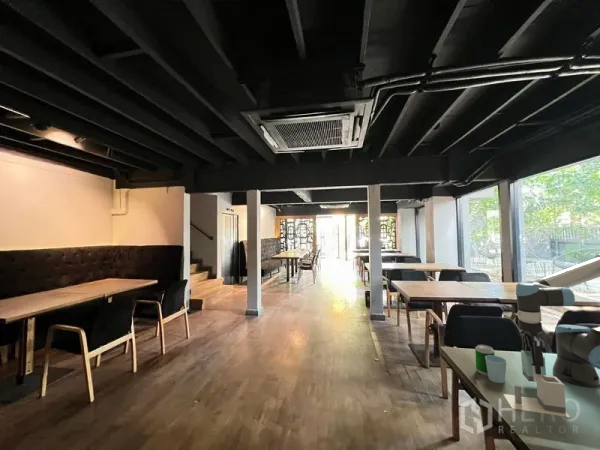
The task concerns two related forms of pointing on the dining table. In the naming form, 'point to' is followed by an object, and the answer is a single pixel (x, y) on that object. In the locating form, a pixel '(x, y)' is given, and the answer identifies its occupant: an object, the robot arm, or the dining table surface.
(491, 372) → the cup
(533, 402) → the pin board
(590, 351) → the robot arm
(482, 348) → the soda can
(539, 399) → the grey sleeve
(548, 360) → the dining table surface
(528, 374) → the teal sleeve
